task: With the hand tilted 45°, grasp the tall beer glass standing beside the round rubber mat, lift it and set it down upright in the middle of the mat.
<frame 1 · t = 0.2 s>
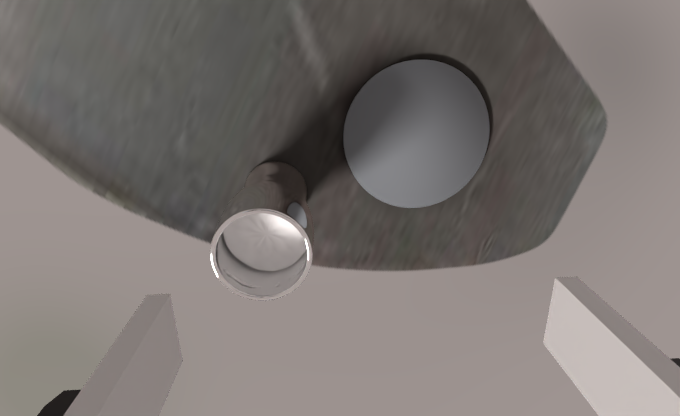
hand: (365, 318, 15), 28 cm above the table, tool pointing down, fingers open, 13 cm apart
mat: (415, 136, 41), on the table
beer glass: (275, 190, 42), on the table
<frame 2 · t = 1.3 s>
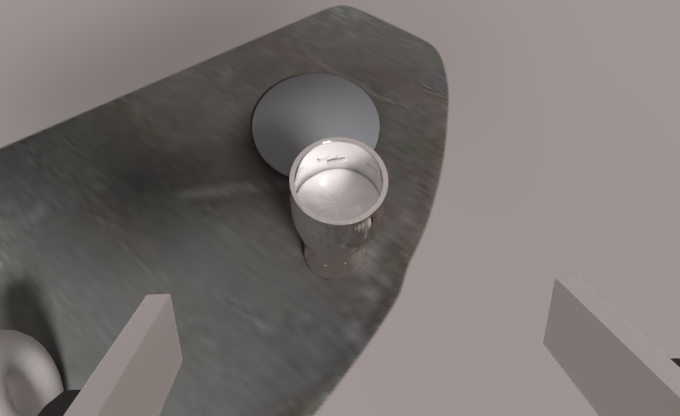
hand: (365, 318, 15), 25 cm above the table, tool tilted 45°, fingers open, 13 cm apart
mat: (316, 127, 47), on the table
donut: (52, 395, 36), on the table
beer glass: (335, 251, 42), on the table
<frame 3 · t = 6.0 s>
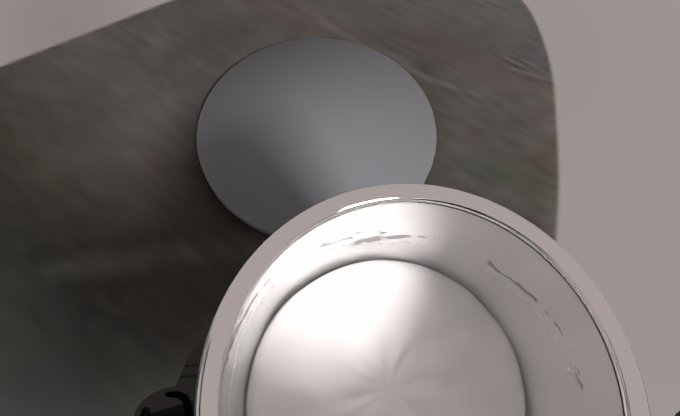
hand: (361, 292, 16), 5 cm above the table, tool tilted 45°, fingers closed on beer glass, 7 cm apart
mat: (317, 134, 26), on the table
beer glass: (358, 394, 20), on the table, touching gripper
when the fingers open (8 cm above the table, at t = 11.3 s): beer glass drops 2 cm, resting on mat.
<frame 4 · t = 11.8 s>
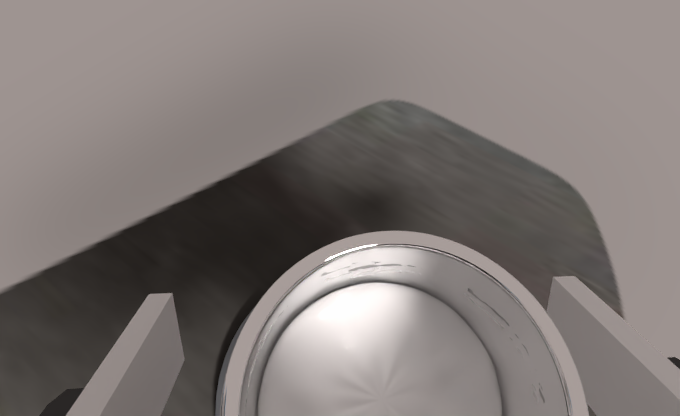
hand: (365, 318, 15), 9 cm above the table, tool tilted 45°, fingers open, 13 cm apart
mat: (355, 395, 22), on the table
beer glass: (358, 396, 21), point 1 cm above the table, touching mat
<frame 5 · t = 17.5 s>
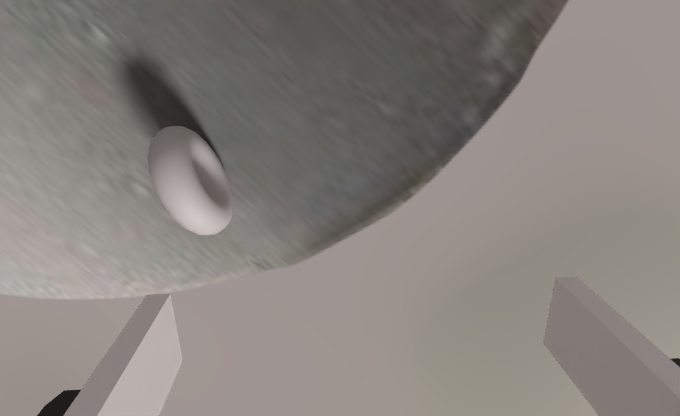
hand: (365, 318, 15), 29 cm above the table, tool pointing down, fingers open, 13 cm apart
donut: (208, 165, 42), on the table
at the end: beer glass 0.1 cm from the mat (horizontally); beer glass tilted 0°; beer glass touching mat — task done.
